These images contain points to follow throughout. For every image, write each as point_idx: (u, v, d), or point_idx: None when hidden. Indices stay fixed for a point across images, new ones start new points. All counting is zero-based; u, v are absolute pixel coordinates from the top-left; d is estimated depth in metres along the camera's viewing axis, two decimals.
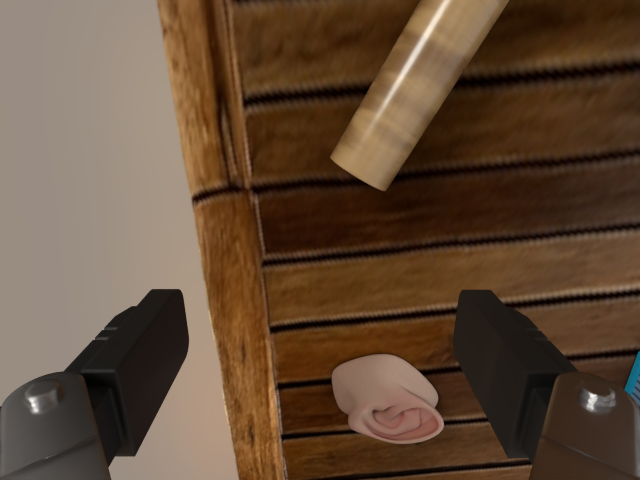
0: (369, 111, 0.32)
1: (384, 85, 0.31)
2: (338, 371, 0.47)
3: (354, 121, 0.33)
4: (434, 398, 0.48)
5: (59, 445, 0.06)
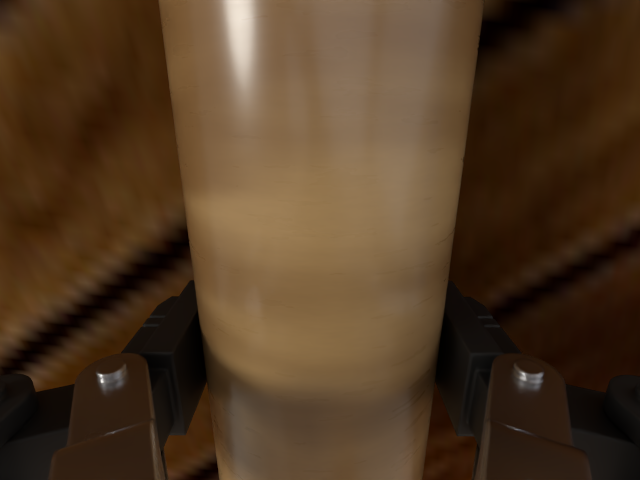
0: (214, 352, 0.08)
1: (201, 252, 0.07)
2: None
3: (206, 373, 0.10)
4: None
5: (119, 423, 0.06)
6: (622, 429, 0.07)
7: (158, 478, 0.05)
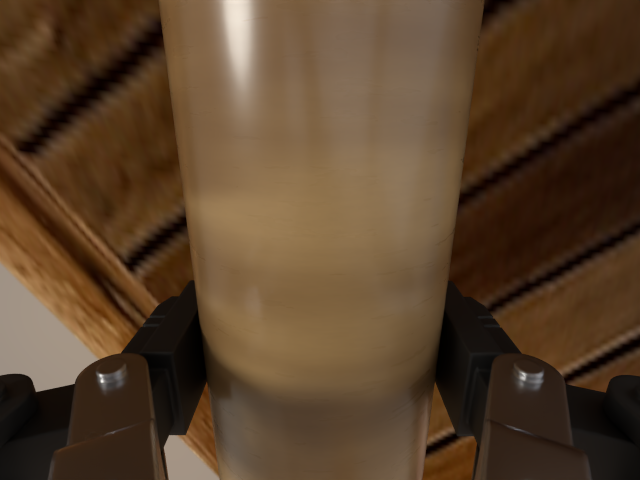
0: (214, 353, 0.08)
1: (202, 253, 0.07)
2: None
3: (206, 373, 0.10)
4: None
5: (119, 423, 0.06)
6: (622, 429, 0.07)
7: (158, 478, 0.05)
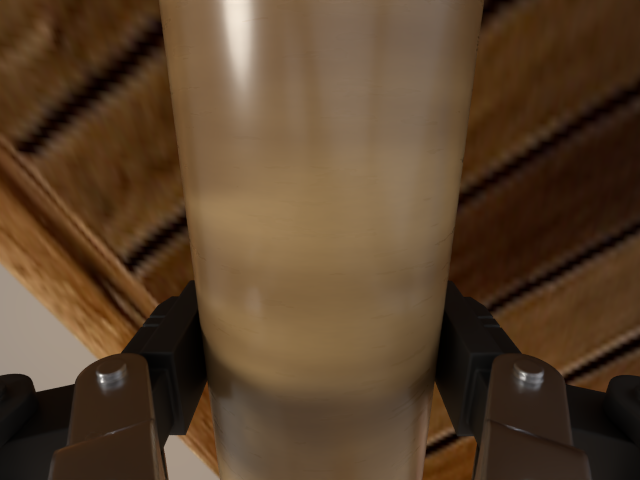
0: (214, 352, 0.08)
1: (202, 252, 0.07)
2: None
3: None
4: None
5: (119, 423, 0.06)
6: (622, 429, 0.07)
7: (158, 478, 0.05)
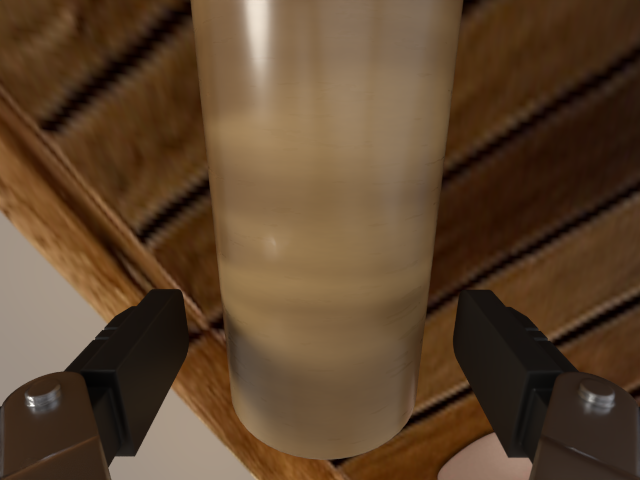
0: (230, 268, 0.09)
1: (221, 173, 0.09)
2: (444, 477, 0.34)
3: (221, 296, 0.11)
4: None
5: (59, 445, 0.06)
6: None
7: None
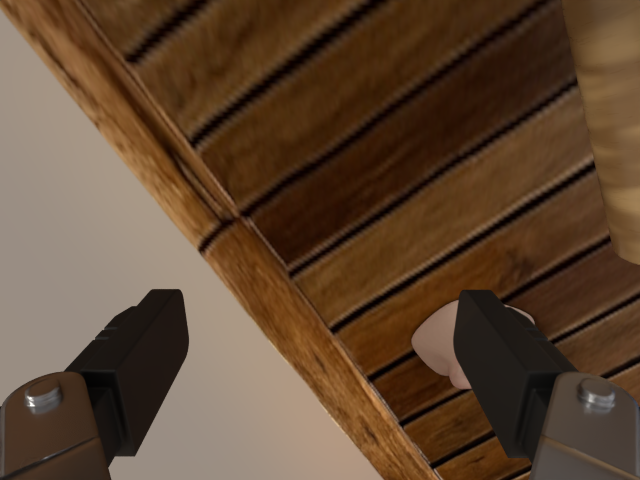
0: None
1: None
2: (416, 339, 0.44)
3: (629, 209, 0.21)
4: None
5: (59, 445, 0.06)
6: None
7: None
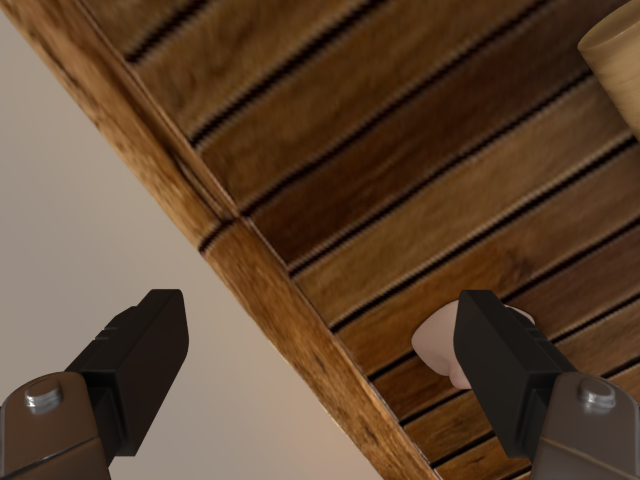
0: None
1: None
2: (416, 339, 0.44)
3: None
4: None
5: (59, 445, 0.06)
6: None
7: None
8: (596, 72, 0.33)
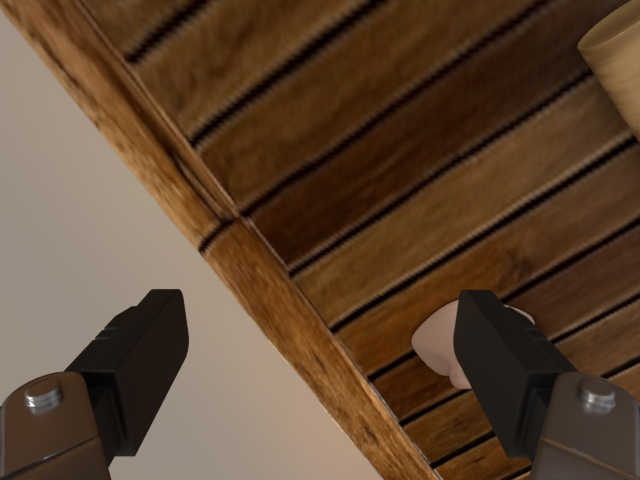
0: None
1: None
2: (416, 339, 0.44)
3: None
4: None
5: (59, 445, 0.06)
6: None
7: None
8: (596, 72, 0.33)
